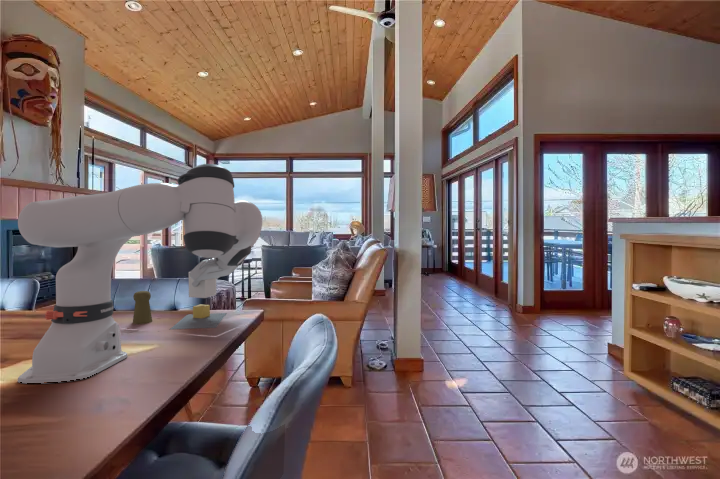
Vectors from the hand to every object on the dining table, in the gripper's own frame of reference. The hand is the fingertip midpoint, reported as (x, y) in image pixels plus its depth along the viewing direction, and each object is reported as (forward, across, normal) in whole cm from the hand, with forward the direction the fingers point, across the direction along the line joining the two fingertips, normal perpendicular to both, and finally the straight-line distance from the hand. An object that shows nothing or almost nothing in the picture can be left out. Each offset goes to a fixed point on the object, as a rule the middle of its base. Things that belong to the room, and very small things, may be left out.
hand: (201, 283), depth 144 cm
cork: (+19, -13, +1) cm, 23 cm away
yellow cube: (+8, -1, -9) cm, 12 cm away
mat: (+6, -6, -11) cm, 14 cm away
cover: (+3, 0, -3) cm, 4 cm away
